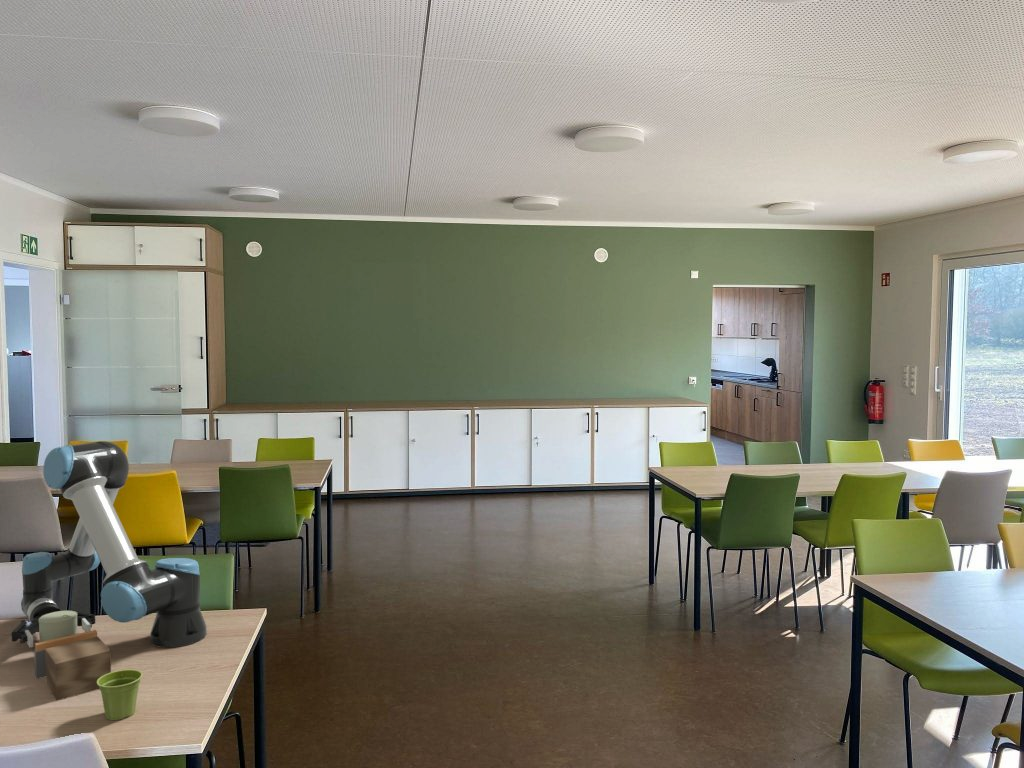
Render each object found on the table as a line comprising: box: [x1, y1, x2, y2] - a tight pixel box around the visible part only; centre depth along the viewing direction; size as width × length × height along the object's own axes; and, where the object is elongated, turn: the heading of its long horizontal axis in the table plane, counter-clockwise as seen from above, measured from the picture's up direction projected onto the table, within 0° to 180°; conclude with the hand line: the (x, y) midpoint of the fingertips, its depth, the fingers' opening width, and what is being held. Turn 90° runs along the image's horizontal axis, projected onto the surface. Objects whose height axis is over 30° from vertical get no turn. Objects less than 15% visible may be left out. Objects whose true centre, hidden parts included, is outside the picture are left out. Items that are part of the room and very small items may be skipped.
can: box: [38, 610, 78, 642], centre depth 205 cm, size 9×9×12 cm
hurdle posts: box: [33, 635, 99, 679], centre depth 198 cm, size 14×2×7 cm, turn 132°
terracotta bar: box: [34, 629, 98, 651], centre depth 198 cm, size 14×2×2 cm, turn 132°
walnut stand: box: [45, 636, 112, 701], centre depth 189 cm, size 12×12×9 cm
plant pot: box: [97, 669, 143, 721], centre depth 174 cm, size 9×9×9 cm
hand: (61, 635), depth 203 cm, fingers open, 13 cm apart
